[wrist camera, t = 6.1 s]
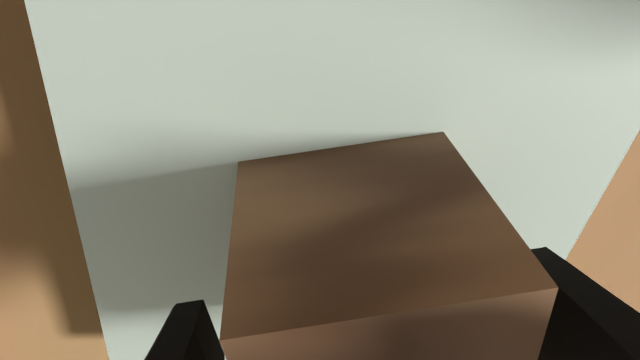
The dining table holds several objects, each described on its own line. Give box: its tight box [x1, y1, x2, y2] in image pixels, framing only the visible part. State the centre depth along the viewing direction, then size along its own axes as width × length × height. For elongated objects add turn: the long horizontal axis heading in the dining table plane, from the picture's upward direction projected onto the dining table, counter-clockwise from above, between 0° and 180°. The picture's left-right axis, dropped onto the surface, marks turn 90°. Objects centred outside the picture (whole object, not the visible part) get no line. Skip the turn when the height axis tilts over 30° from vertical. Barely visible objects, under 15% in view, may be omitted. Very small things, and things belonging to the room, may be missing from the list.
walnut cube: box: [219, 132, 558, 360], centre depth 10 cm, size 5×5×5 cm
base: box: [24, 0, 640, 360], centre depth 13 cm, size 14×14×2 cm
